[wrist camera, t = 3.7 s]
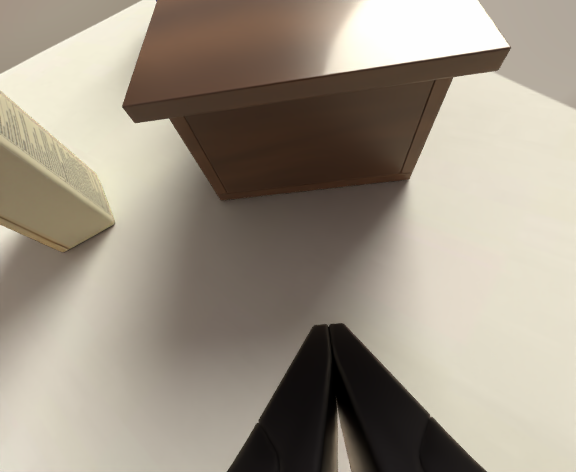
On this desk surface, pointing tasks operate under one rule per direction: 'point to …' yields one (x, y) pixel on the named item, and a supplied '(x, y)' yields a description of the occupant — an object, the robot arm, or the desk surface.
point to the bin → (314, 140)
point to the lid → (301, 51)
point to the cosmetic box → (46, 185)
